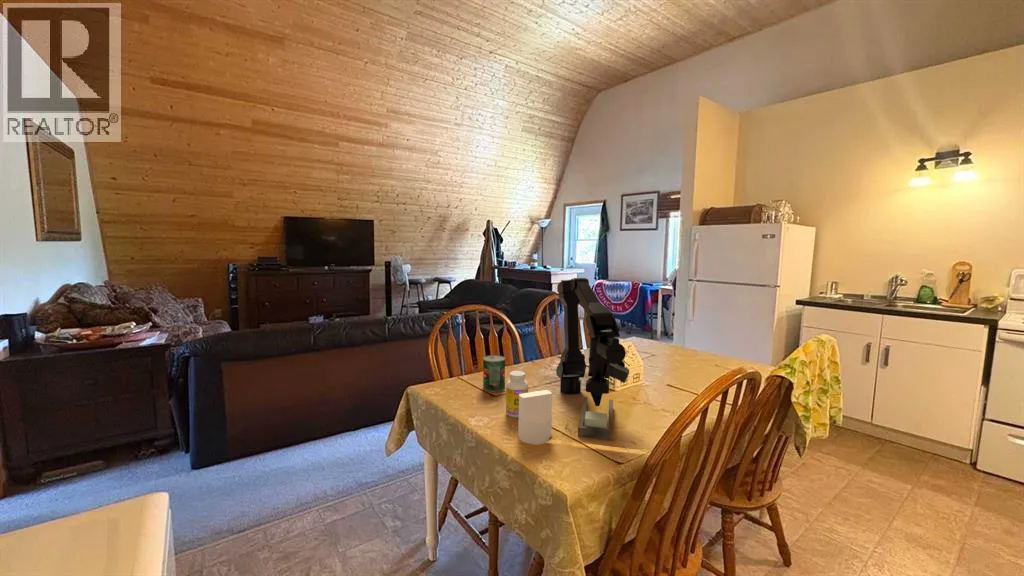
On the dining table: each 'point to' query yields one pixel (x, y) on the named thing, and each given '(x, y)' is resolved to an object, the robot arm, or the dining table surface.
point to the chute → (594, 431)
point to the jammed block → (596, 419)
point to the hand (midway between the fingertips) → (597, 405)
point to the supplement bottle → (515, 392)
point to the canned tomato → (494, 373)
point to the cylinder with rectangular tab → (535, 417)
